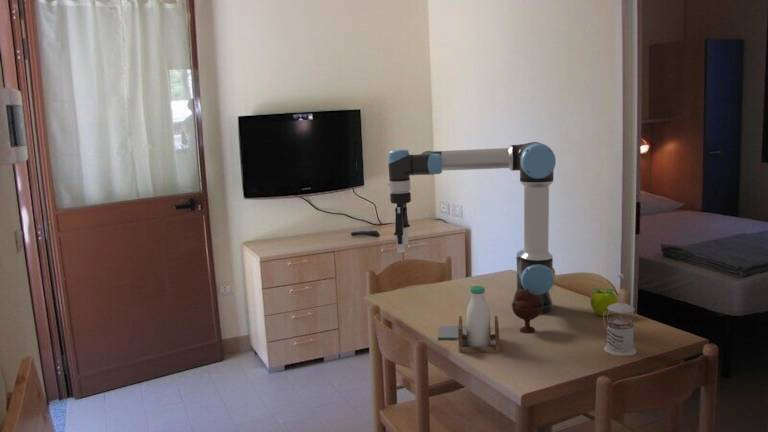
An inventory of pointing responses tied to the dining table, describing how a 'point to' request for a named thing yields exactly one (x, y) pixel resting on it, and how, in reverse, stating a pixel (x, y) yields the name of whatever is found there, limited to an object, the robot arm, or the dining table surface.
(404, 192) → the robot arm
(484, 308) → the milk bottle
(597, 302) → the fruit
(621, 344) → the french press
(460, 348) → the cradle
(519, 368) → the dining table surface
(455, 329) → the coaster
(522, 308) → the ice cream bowl
